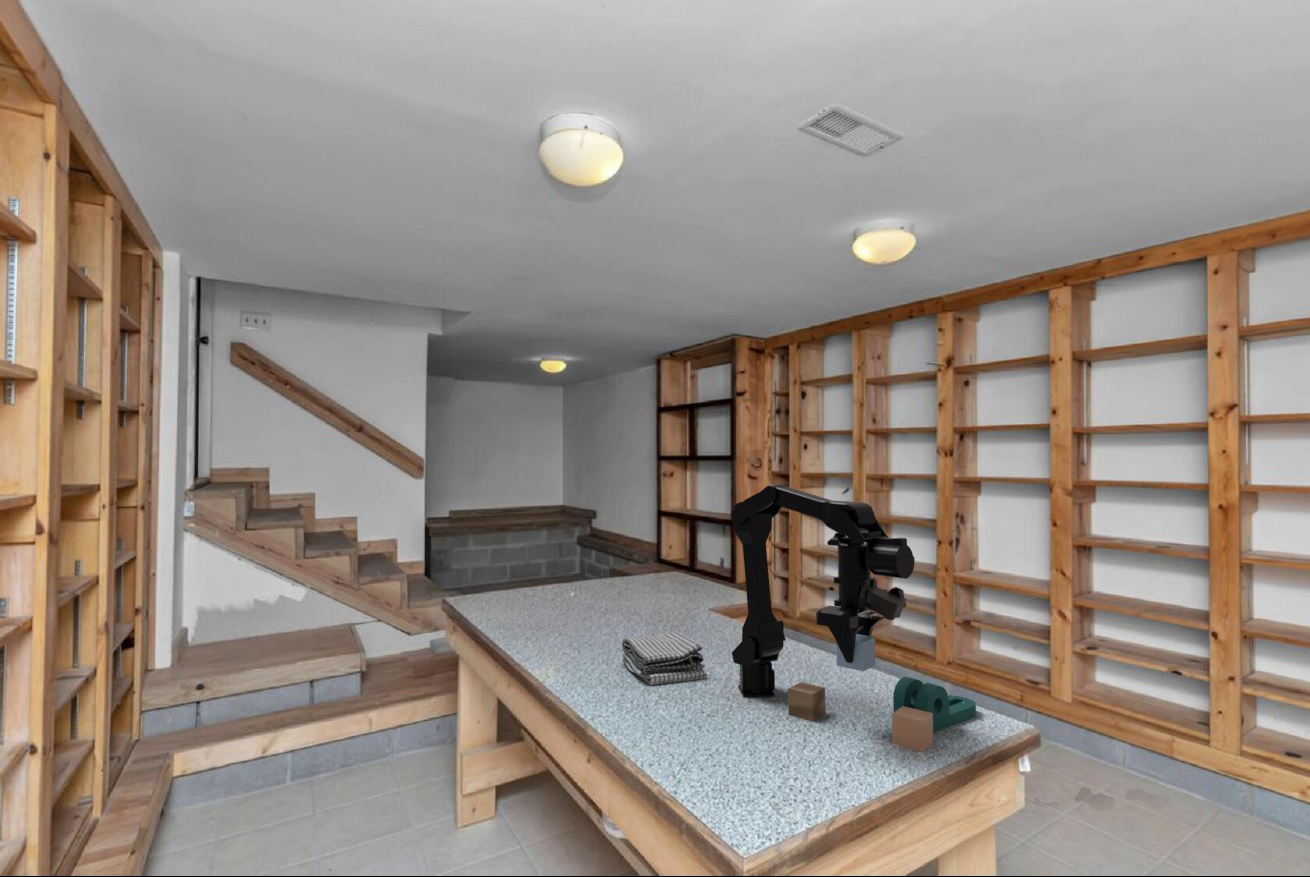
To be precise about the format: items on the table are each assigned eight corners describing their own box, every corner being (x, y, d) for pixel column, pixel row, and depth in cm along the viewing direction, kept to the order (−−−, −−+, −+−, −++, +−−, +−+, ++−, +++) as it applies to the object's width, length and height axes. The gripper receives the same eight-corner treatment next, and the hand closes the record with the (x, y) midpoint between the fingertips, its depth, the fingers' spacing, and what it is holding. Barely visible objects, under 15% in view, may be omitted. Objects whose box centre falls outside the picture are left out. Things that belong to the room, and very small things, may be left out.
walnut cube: (812, 721, 118) (812, 694, 118) (788, 715, 121) (788, 688, 122) (825, 714, 122) (825, 687, 122) (801, 708, 125) (801, 682, 125)
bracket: (927, 736, 112) (926, 689, 112) (893, 723, 117) (892, 679, 118) (983, 714, 122) (982, 672, 122) (949, 704, 127) (948, 664, 128)
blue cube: (863, 671, 112) (863, 642, 112) (837, 665, 115) (836, 637, 116) (875, 665, 116) (874, 637, 116) (849, 659, 119) (848, 632, 119)
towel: (677, 659, 160) (677, 627, 160) (709, 680, 142) (709, 644, 143) (619, 665, 154) (619, 632, 155) (644, 688, 137) (644, 651, 138)
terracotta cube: (922, 752, 105) (922, 721, 105) (892, 744, 108) (891, 713, 108) (933, 743, 108) (932, 713, 109) (903, 735, 112) (903, 705, 112)
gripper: (876, 582, 104) (878, 680, 103) (918, 570, 118) (920, 657, 117) (814, 575, 112) (815, 667, 111) (860, 565, 126) (861, 646, 125)
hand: (855, 659), depth 116 cm, fingers closed on blue cube, 5 cm apart
